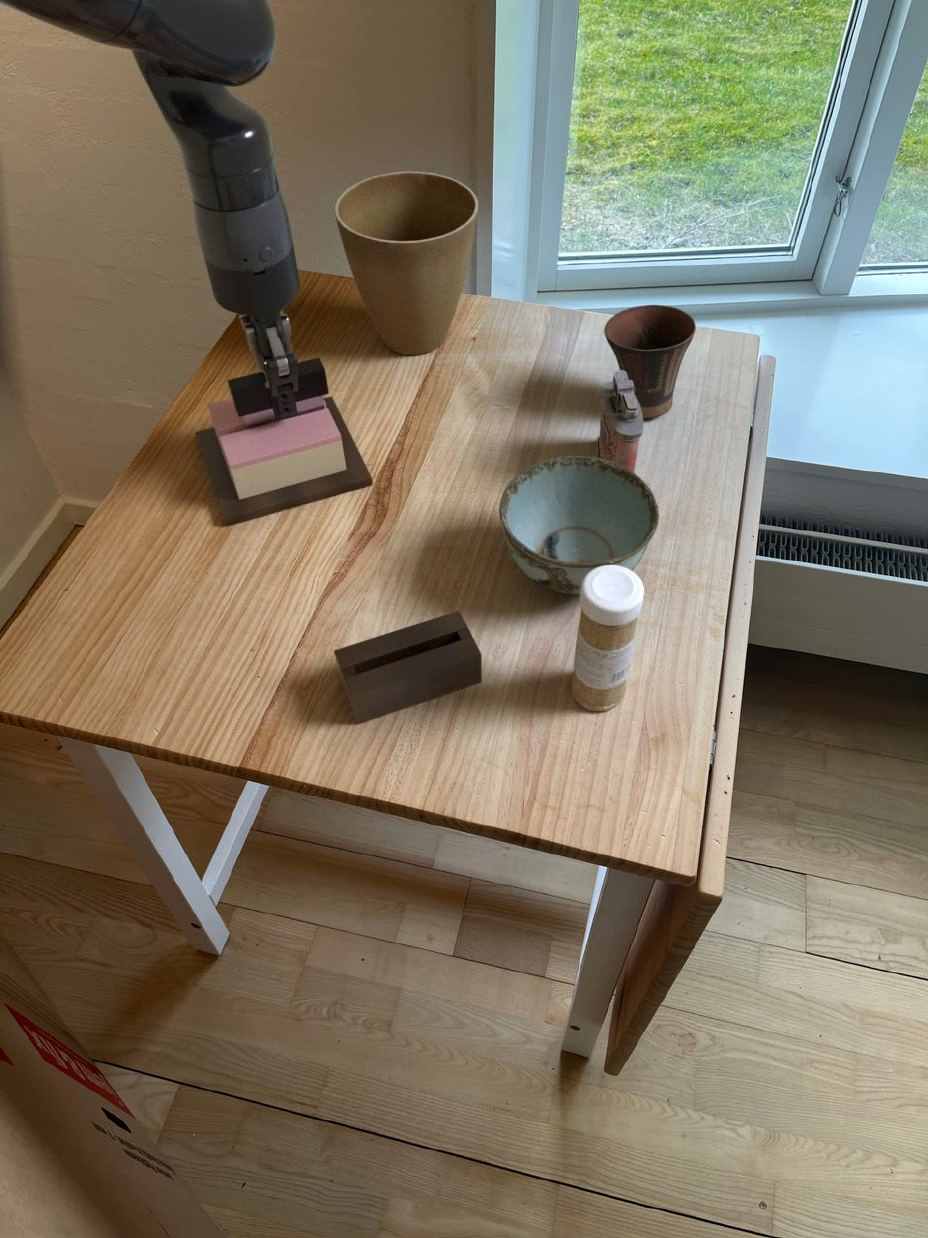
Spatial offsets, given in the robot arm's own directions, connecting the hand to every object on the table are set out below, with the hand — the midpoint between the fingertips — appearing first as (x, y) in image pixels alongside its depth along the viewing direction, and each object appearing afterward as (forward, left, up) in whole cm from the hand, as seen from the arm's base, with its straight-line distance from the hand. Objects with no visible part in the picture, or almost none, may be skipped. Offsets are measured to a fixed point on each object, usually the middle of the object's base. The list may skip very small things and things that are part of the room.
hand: (282, 407), depth 93 cm
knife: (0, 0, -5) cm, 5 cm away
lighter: (+30, -14, -7) cm, 34 cm away
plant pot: (+19, +15, -7) cm, 25 cm away
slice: (-1, +3, -6) cm, 6 cm away
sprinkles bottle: (+16, -38, -7) cm, 42 cm away
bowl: (+20, -25, -7) cm, 33 cm away
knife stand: (+2, -31, -7) cm, 32 cm away
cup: (+37, -6, -7) cm, 38 cm away
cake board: (-1, 0, -7) cm, 7 cm away
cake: (-1, -3, -6) cm, 6 cm away
